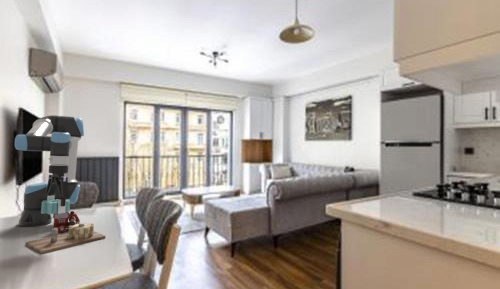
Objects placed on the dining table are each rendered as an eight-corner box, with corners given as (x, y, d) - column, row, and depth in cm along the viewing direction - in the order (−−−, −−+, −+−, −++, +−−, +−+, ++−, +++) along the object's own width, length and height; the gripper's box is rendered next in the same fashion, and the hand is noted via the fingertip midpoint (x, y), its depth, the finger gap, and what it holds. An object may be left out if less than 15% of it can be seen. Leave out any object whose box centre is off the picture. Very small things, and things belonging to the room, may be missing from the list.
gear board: (25, 244, 125) (26, 229, 125) (88, 231, 149) (89, 218, 149) (41, 253, 116) (42, 237, 116) (105, 238, 140) (106, 224, 140)
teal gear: (63, 208, 135) (64, 198, 135) (74, 211, 129) (74, 201, 129) (36, 211, 126) (37, 200, 126) (47, 215, 120) (47, 204, 120)
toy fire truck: (80, 230, 150) (81, 211, 150) (53, 234, 141) (54, 214, 141) (77, 227, 155) (78, 209, 155) (51, 231, 146) (52, 211, 146)
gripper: (39, 163, 131) (35, 208, 131) (61, 166, 119) (58, 216, 118) (56, 163, 138) (53, 206, 137) (79, 166, 125) (76, 213, 124)
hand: (55, 211), depth 128 cm, fingers closed on teal gear, 11 cm apart
